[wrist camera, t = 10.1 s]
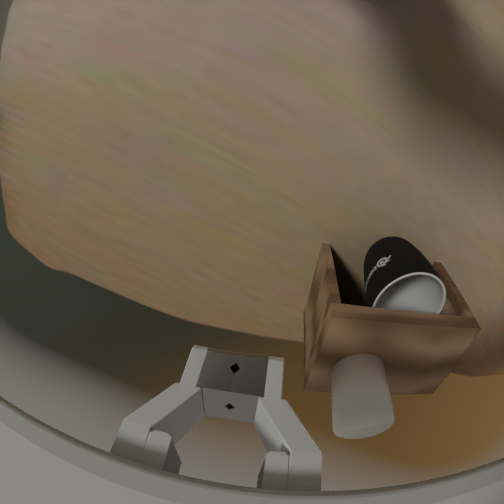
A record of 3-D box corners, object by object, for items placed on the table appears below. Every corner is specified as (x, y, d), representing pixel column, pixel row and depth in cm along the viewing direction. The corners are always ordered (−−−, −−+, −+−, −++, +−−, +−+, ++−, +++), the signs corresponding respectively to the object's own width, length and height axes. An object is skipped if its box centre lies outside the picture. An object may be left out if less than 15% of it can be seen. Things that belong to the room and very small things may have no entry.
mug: (375, 216, 35) (400, 260, 26) (429, 241, 35) (460, 286, 26) (334, 290, 41) (342, 344, 32) (386, 307, 41) (402, 358, 33)
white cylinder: (339, 351, 28) (345, 410, 22) (392, 355, 28) (405, 410, 22) (323, 384, 31) (325, 438, 25) (371, 387, 31) (378, 438, 25)
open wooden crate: (322, 243, 37) (332, 316, 26) (441, 263, 36) (480, 328, 25) (303, 314, 43) (303, 390, 32) (410, 325, 43) (432, 393, 31)
